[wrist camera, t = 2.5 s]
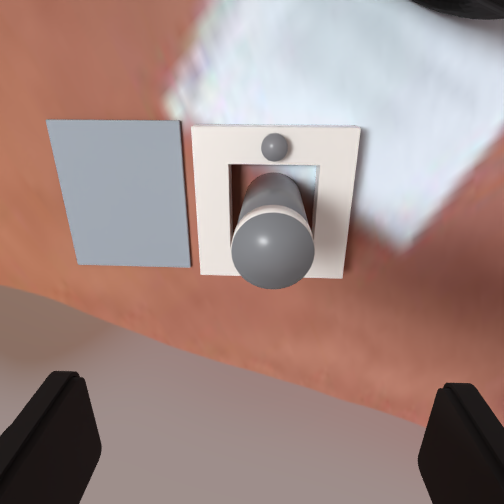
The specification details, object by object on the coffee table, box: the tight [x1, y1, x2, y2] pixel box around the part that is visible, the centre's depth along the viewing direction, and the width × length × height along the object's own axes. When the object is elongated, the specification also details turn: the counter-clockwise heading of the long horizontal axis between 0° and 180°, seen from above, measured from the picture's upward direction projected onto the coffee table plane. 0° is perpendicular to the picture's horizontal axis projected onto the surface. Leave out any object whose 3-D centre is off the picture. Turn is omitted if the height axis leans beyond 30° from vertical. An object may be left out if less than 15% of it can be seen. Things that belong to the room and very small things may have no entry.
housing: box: [191, 124, 361, 279], centre depth 27 cm, size 12×12×3 cm
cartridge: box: [231, 173, 315, 289], centre depth 24 cm, size 5×5×10 cm
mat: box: [46, 119, 191, 267], centre depth 29 cm, size 10×12×1 cm
